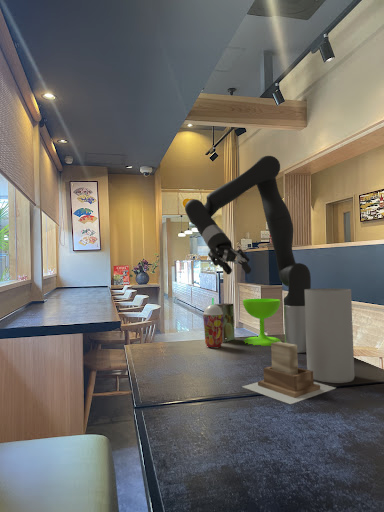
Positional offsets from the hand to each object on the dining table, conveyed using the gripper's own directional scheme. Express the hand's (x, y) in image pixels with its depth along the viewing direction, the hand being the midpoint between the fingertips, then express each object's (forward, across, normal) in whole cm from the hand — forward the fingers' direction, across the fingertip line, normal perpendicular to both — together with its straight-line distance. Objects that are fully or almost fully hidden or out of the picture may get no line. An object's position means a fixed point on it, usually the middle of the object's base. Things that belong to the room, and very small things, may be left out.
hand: (240, 272), depth 117 cm
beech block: (+36, -6, +5) cm, 37 cm away
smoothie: (+1, +12, +42) cm, 44 cm away
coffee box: (-5, +24, +48) cm, 54 cm away
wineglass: (+5, +34, +38) cm, 51 cm away
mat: (+38, -6, +5) cm, 39 cm away
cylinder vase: (+39, +10, +4) cm, 41 cm away
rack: (+38, -6, +5) cm, 38 cm away
